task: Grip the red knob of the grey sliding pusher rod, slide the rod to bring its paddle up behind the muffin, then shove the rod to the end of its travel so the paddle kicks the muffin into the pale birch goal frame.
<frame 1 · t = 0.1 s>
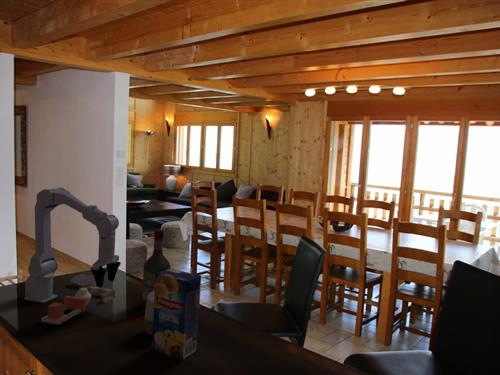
hand: (105, 283, 160), 10 cm above the kitchen counter, tool pointing down, fingers open, 7 cm apart
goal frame: (96, 297, 172), on the kitchen counter
liquor: (155, 306, 168), on the kitchen counter
stone block: (85, 286, 186), on the kitchen counter
smart speaker: (158, 333, 144), on the kitchen counter
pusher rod: (63, 308, 153), point 3 cm above the kitchen counter, slide at 0.0 cm
juice carton: (174, 350, 133), on the kitchen counter
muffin: (82, 305, 164), on the kitchen counter
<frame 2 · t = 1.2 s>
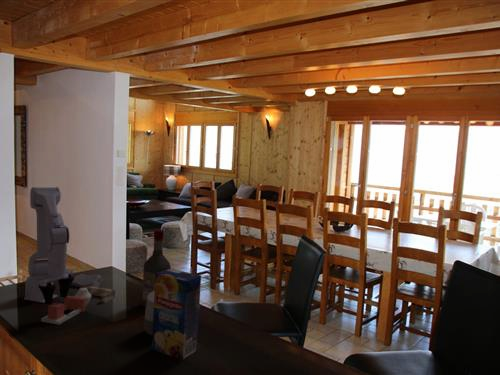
hand: (56, 300, 148), 7 cm above the kitchen counter, tool pointing down, fingers open, 7 cm apart
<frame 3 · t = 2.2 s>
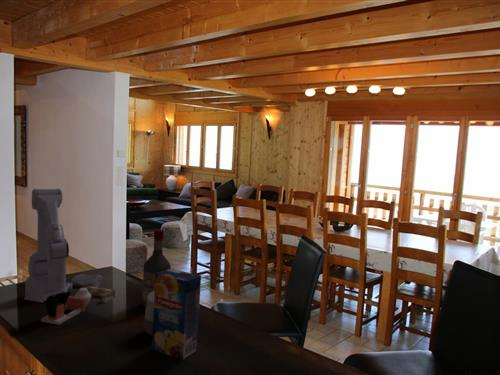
hand: (55, 314, 149), 2 cm above the kitchen counter, tool pointing down, fingers closed on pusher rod, 4 cm apart
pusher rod: (63, 308, 153), point 3 cm above the kitchen counter, slide at 0.0 cm, touching gripper
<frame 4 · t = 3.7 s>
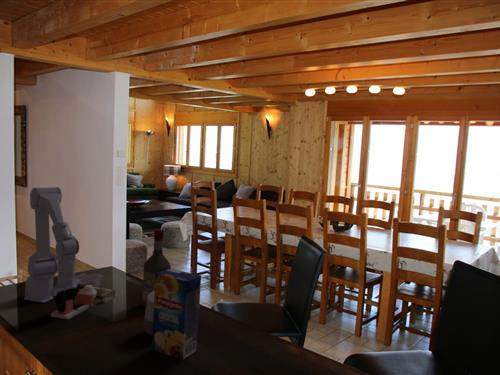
hand: (65, 309, 154), 2 cm above the kitchen counter, tool pointing down, fingers open, 4 cm apart
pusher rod: (72, 303, 157), point 3 cm above the kitchen counter, slide at 4.8 cm, touching gripper, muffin
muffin: (88, 302, 167), on the kitchen counter, touching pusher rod
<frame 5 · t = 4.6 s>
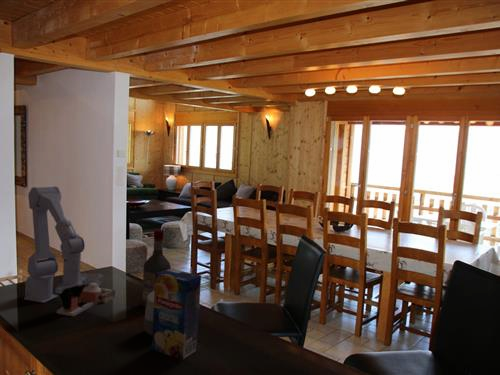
hand: (70, 306, 157), 2 cm above the kitchen counter, tool pointing down, fingers open, 4 cm apart
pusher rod: (77, 301, 160), point 3 cm above the kitchen counter, slide at 7.8 cm, touching gripper, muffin
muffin: (92, 300, 170), on the kitchen counter, touching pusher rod
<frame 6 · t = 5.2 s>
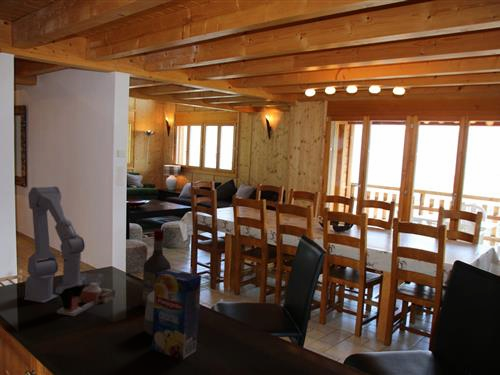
hand: (70, 306, 157), 2 cm above the kitchen counter, tool pointing down, fingers closed on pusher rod, 3 cm apart
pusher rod: (77, 301, 160), point 3 cm above the kitchen counter, slide at 8.0 cm, touching gripper
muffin: (93, 299, 170), on the kitchen counter
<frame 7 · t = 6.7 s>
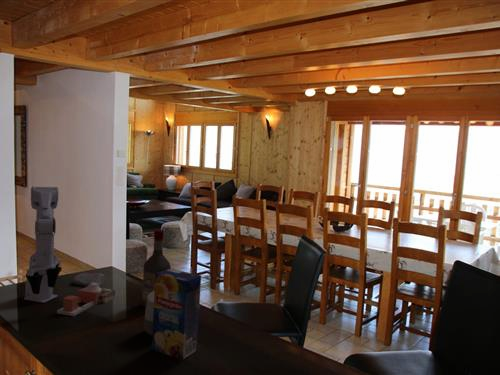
hand: (43, 290, 151), 9 cm above the kitchen counter, tool pointing down, fingers open, 7 cm apart
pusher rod: (77, 301, 160), point 3 cm above the kitchen counter, slide at 8.0 cm
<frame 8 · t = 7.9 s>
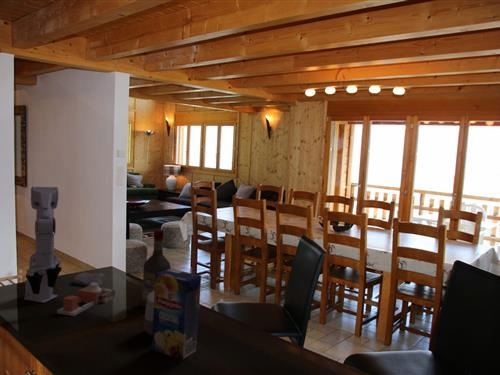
hand: (43, 290, 151), 9 cm above the kitchen counter, tool pointing down, fingers open, 7 cm apart
at the end: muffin inside the target area (1.9 cm from its centre), on the kitchen counter; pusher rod slide at 8.0 cm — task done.
